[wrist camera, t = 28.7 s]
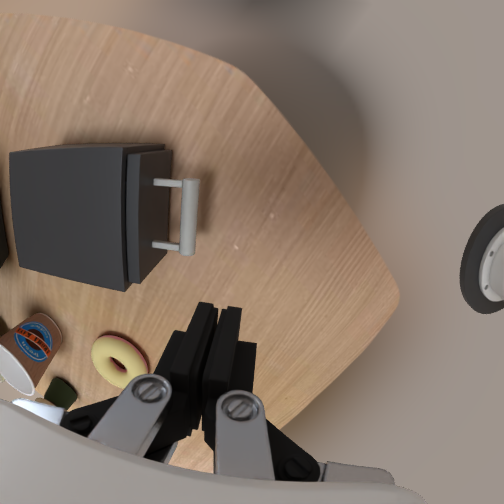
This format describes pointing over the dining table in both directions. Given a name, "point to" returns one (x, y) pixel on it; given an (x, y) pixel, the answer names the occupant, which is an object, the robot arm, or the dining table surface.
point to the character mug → (58, 395)
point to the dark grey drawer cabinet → (73, 210)
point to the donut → (122, 352)
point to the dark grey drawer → (155, 212)
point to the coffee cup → (28, 352)
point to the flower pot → (2, 241)
